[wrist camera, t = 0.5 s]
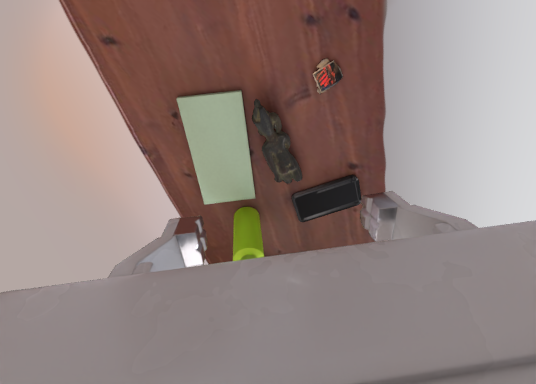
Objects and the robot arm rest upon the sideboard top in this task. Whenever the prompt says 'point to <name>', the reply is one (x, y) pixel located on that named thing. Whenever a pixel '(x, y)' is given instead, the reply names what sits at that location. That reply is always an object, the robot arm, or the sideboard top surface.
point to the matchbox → (327, 75)
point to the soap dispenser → (247, 235)
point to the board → (218, 145)
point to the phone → (327, 198)
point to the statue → (276, 145)
